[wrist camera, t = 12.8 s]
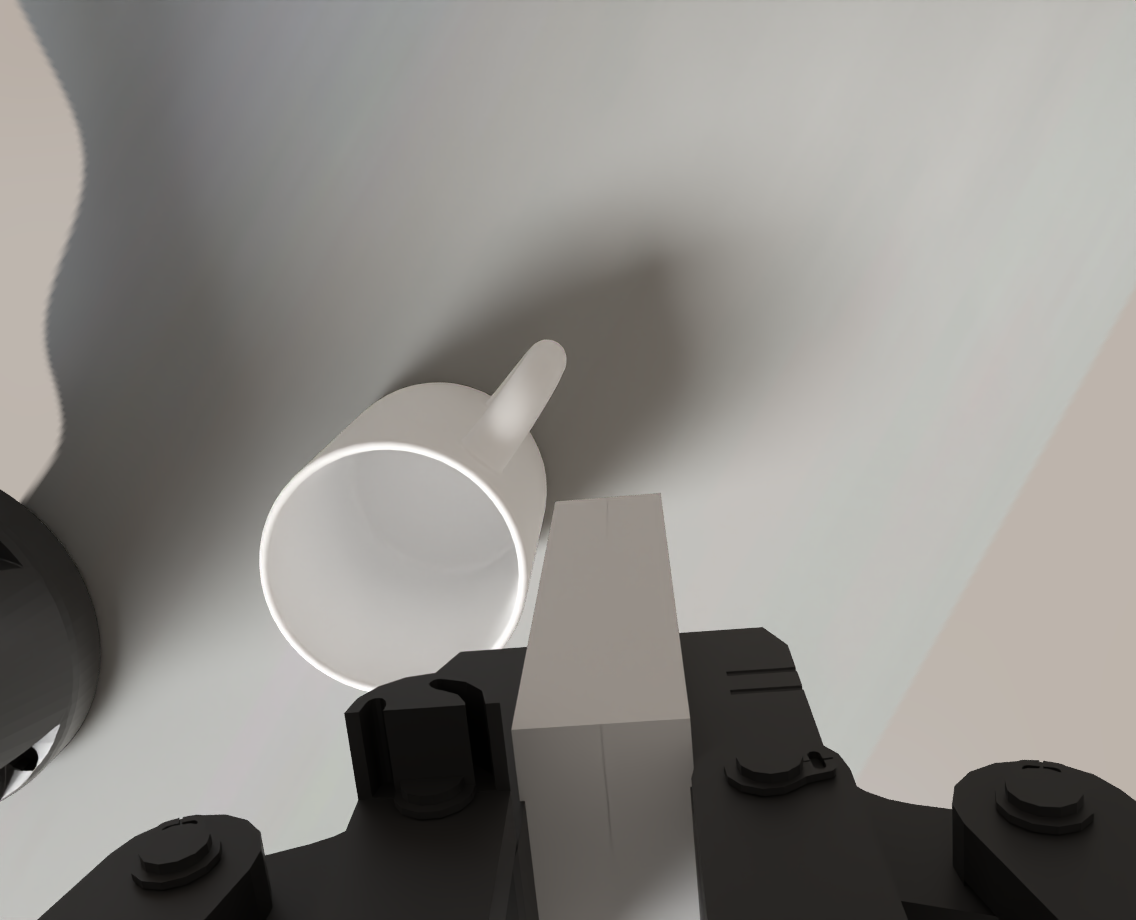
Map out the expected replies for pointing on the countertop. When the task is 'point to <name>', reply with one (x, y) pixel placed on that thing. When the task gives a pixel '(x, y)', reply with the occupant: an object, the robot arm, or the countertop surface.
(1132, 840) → the robot arm
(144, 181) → the countertop surface
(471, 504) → the mug
